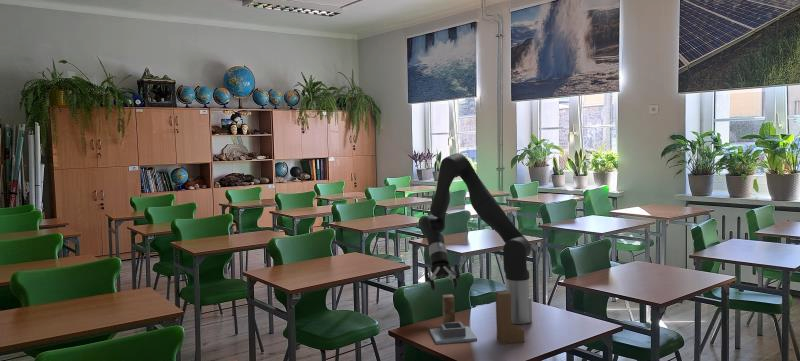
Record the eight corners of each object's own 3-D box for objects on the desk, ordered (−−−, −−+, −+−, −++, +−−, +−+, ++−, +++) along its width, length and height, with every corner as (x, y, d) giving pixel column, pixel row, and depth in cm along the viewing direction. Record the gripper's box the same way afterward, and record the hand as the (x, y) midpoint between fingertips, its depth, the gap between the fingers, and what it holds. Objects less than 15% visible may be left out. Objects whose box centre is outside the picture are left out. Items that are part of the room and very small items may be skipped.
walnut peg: (453, 324, 234) (452, 294, 233) (455, 327, 230) (454, 296, 229) (443, 324, 233) (442, 294, 233) (445, 328, 229) (444, 297, 229)
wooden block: (520, 338, 215) (519, 289, 213) (524, 342, 210) (523, 292, 209) (496, 340, 214) (495, 291, 212) (500, 344, 209) (498, 294, 208)
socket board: (468, 328, 227) (468, 318, 227) (477, 340, 214) (476, 330, 213) (429, 331, 226) (429, 321, 225) (436, 344, 212) (435, 333, 212)
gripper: (422, 251, 246) (427, 285, 235) (456, 249, 247) (462, 283, 237) (421, 261, 251) (426, 295, 241) (454, 259, 253) (460, 292, 242)
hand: (444, 289), depth 239 cm, fingers open, 8 cm apart
